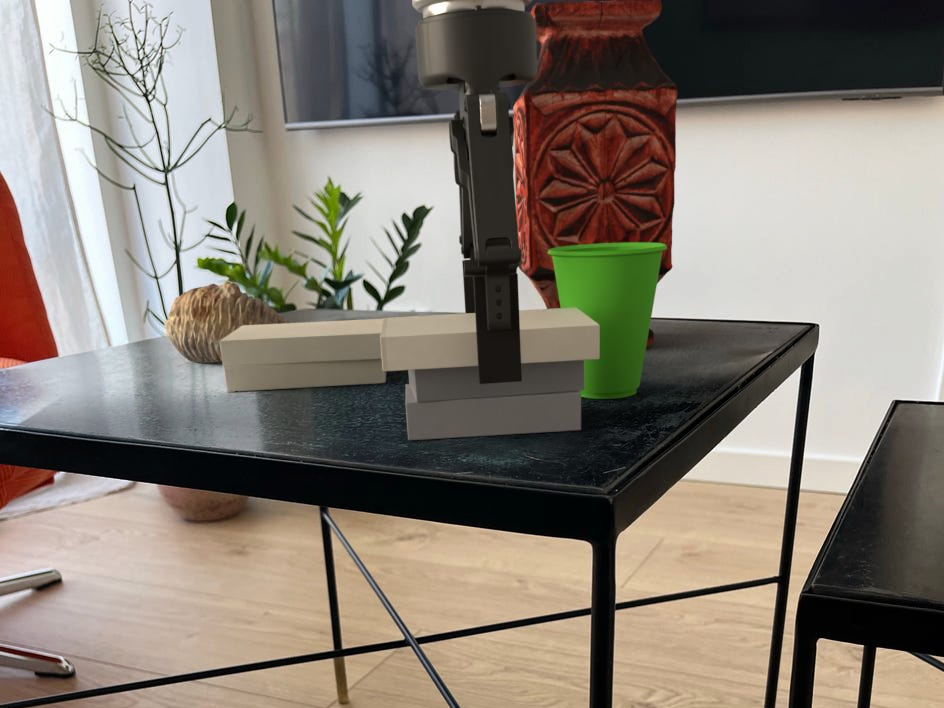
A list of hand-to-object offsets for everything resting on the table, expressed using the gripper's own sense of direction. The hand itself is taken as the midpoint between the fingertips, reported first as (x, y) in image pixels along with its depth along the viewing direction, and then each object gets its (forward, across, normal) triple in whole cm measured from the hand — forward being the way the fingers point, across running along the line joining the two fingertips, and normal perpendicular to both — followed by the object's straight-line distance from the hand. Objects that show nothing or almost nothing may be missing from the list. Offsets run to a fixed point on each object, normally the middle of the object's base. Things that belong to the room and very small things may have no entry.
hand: (492, 365), depth 71 cm
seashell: (+4, +39, +25) cm, 47 cm away
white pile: (+4, +24, +15) cm, 29 cm away
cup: (+4, +9, -10) cm, 14 cm away
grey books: (+4, 0, 0) cm, 4 cm away
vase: (+4, +35, -13) cm, 38 cm away
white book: (-1, 0, 0) cm, 1 cm away
